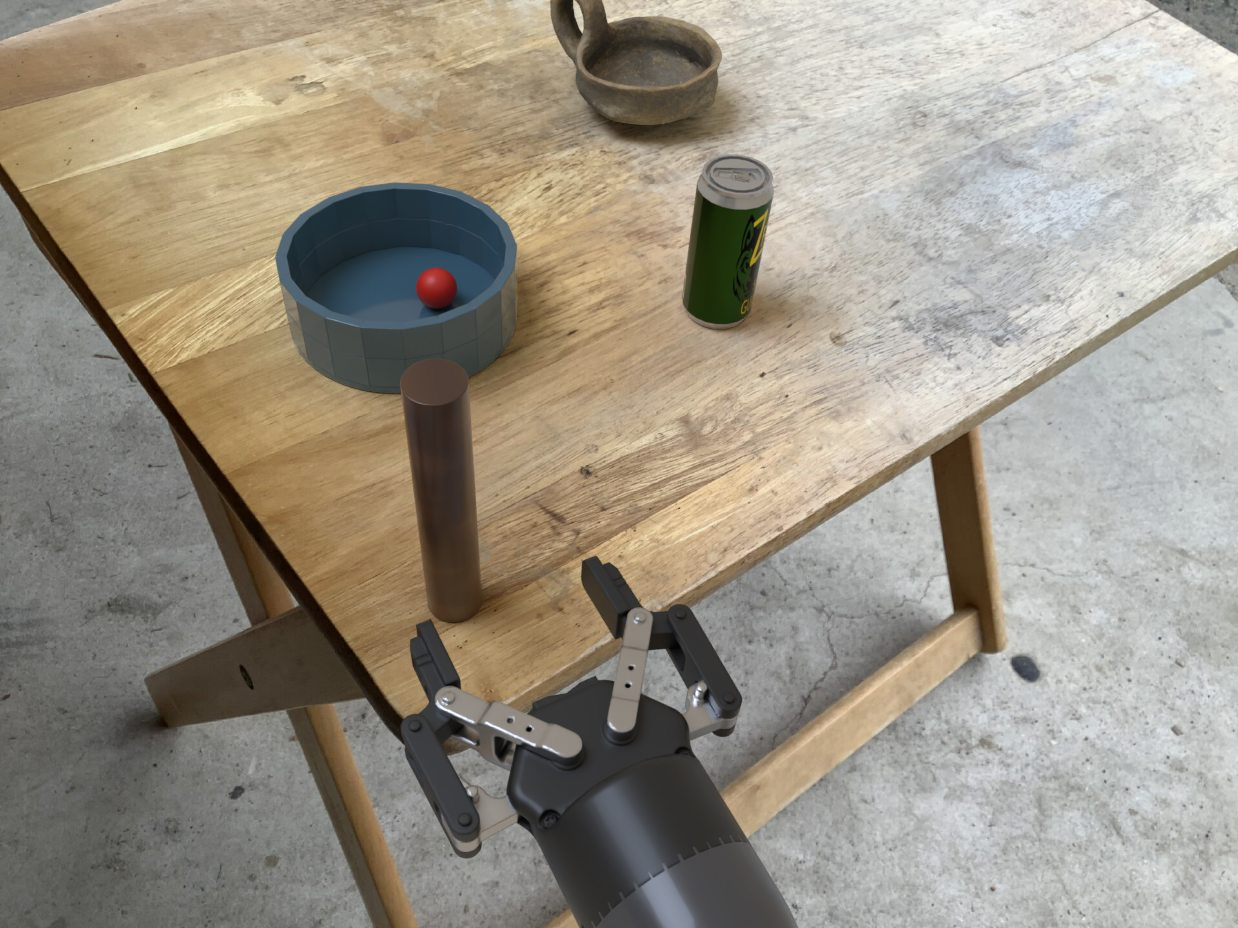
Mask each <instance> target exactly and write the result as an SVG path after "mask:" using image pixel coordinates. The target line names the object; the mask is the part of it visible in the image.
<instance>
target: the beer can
mask: <svg viewBox="0 0 1238 928" xmlns="http://www.w3.org/2000/svg"><path fill="white" fill-rule="evenodd" d="M773 182H774V176H773V171H772V170H771V169H770V168H769V167H768V165H766V164H765V163H763V162H762V161H761V160H759V159H756V158H754V157H751V156H748V155H743V154H734V153H733V154H731V153H730V154H729V153H727V154H721V155H716V156H715V157H712V158H710V159H708V160H707V162H705V163H704V164H703V167H702V169H701V173H700V175H699V176H698V179H697V182H696V188H695V195H694V203H693V210H692V211H693V212H692V217H691V226H690V234H689V240H688V250H687V256H686V263H685V271H684V279H683V286H682V287H683V288H682V294H681V300H682V301H681V302H682V306H683V308H684V310H685V313H686V314H687V316H688V317H689V319H690V320H692V321H693V322H694V323H695V324H697V325H699V326H702V327H704V328H709V329H712V330H726V329H731V328H735V327H737V326H738V325H740V324H741V323H742V322H743V321H744V320H745V319H746V318H747V316H749V314H750V313H751V310H752V306H753V303H754V298H755V293H756V287H757V283H758V277H759V272H760V266H761V262H762V256H763V252H764V246H765V241H766V237H767V236H766V235H767V230H768V227H769V226H768V224H769V220H770V216H771V215H770V214H771V209H772V205H773V199H774V196H775V195H774V194H775V188H774V185H773Z"/></svg>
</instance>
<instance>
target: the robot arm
mask: <svg viewBox="0 0 1238 928" xmlns="http://www.w3.org/2000/svg"><path fill="white" fill-rule="evenodd" d="M580 581H581V584H582V587H583V589H584V591H585V592H586V594H587V596H588V597H589V599H590V601H591V603H592V604H593V606H594V608H595V610H596V611H597V612H598V614H599V616H600V617H601V619H602V621H603V622H604V624H605V625H606V627H607V629H608V630H609V632H610V634H611V635H612V637H613V639H614V640H615V641H616V640H619V639H621V640H622V642H621V646H620V649H619V650H620V651H619V656H618V661H617V666H616V671H615V676H614V680H611V679H598V677H597V675H594V676H592V677H589V678H587V679H585V680H582V681H580V682H578V683H577V684H576V685H575V686H573V687H572V688H571V689H570V690H568V691H567V692H563V693H557V694H552V695H548V696H545V697H542V698H540V699H538V700H536V701H534V702H532V703H531V705H532V706H531V708H530V710H528V712H527V713H526V712H524V711H521V710H519V709H517V708H515V707H513V706H511V705H508V704H507V703H504V702H502V701H500V700H491V701H489V700H488V701H487V700H484V699H482V698H481V697H478V696H477V695H474V694H472V693H470V692H467V691H465V690H464V689H462V682H461V677H460V675H459V672H458V671H457V668H456V667H455V665H454V663H453V661H452V659H451V657H450V655H449V652H448V650H447V649H446V646H445V644H444V643H443V640H442V638H441V636H440V634H439V632H438V631H437V629H436V627H435V626H436V625H434V622H433V620H432V619H431V618H429V619H427V620H424V621H422V622H419V623H416V624H415V630H416V636H415V637H413V638H410V639H409V652H410V660H411V665H412V666H411V667H412V668H413V670H414V672H415V674H416V676H417V679H418V682H419V683H420V686H421V687H422V690H423V691H424V694H425V696H426V699H427V701H428V703H427V705H426V706H425V707H424V708H423V709H422V710H421V711H419V712H418V713H411V714H409V715H407V716H406V717H404V718H403V720H402V721H401V723H400V734H401V737H402V740H403V743H404V754H405V759H406V761H407V763H408V765H409V767H410V769H411V771H412V773H413V775H414V776H415V778H416V780H417V782H418V784H419V786H420V788H421V790H422V792H423V794H424V796H425V798H426V799H427V801H428V803H429V805H430V807H431V809H432V811H433V813H434V815H435V817H436V820H437V821H438V823H439V824H440V826H441V829H442V830H443V832H444V835H445V836H446V838H447V840H448V842H449V845H450V846H451V848H452V850H453V852H454V853H455V855H456V856H458V857H459V858H461V859H468V860H469V859H473V858H474V857H476V856H478V854H479V853H480V852H481V850H482V847H483V842H484V841H486V840H487V839H489V838H491V837H493V836H495V835H497V834H498V833H500V832H502V831H504V830H506V829H508V828H509V827H512V826H513V825H515V824H517V825H518V826H521V828H524V829H525V830H526V831H528V832H529V833H530V835H531V836H533V838H534V840H535V841H536V842H537V845H538V846H539V849H540V850H541V852H542V854H543V857H544V859H545V861H546V863H547V864H548V867H549V869H550V871H551V873H552V875H553V877H554V879H555V882H556V883H557V885H558V887H559V890H560V891H561V893H562V895H563V897H564V900H565V901H566V903H567V905H568V907H569V909H570V911H571V914H572V916H573V918H574V920H575V922H576V924H577V927H578V928H799V926H798V923H797V921H796V918H795V917H794V914H793V913H792V910H791V909H790V907H789V904H788V902H787V901H786V899H785V897H784V895H783V894H782V893H781V890H780V889H779V888H778V886H777V884H776V883H775V881H774V880H773V878H772V876H771V875H770V873H769V872H768V870H767V868H766V867H765V864H764V863H763V861H762V860H761V858H760V857H759V855H758V853H757V852H756V850H755V848H754V847H753V845H752V844H751V842H750V840H749V839H748V837H747V836H746V834H745V832H744V831H743V829H742V827H741V826H740V824H739V823H738V821H737V819H736V818H735V816H734V814H733V812H732V810H731V809H730V808H729V806H728V805H727V803H726V801H725V799H724V798H723V796H722V794H720V792H719V790H718V788H717V787H716V785H715V783H714V782H713V780H712V779H711V776H710V775H709V773H708V772H707V771H706V769H705V767H704V765H703V764H702V762H701V761H700V760H699V758H698V757H697V756H696V754H695V753H694V750H693V748H692V745H691V741H693V740H696V739H698V738H700V737H703V736H706V735H709V734H710V733H712V734H713V735H714V736H716V737H719V738H727V737H729V736H731V735H732V734H733V733H734V731H735V728H736V725H737V722H738V718H739V714H740V711H741V707H742V704H743V695H742V694H741V692H740V691H739V689H738V687H737V685H736V683H735V682H734V680H733V678H732V677H731V675H730V673H729V671H728V670H727V668H726V667H725V665H724V663H723V661H722V660H721V658H720V656H719V654H718V653H717V651H716V649H715V648H714V646H713V644H712V642H711V641H710V640H709V637H708V636H707V634H706V632H705V630H704V628H703V627H702V625H701V624H700V622H699V620H698V619H697V617H696V614H694V612H693V610H692V609H691V608H690V606H688V605H686V604H684V603H683V604H682V603H675V604H673V605H672V606H670V607H669V609H668V610H662V611H654V610H653V611H652V610H649V609H647V608H645V607H644V606H643V605H642V604H641V603H640V600H639V599H638V598H637V596H636V594H635V593H634V591H633V590H632V588H631V587H630V585H629V584H628V583H627V581H626V579H625V577H624V576H623V575H622V573H621V571H620V570H619V568H618V567H617V566H615V565H614V564H613V563H611V562H610V561H607V562H605V563H603V562H602V560H601V559H600V557H599V556H597V555H593V556H591V557H588V558H586V559H583V560H582V561H581V569H580ZM659 650H665V651H666V653H667V655H668V657H669V658H670V661H671V662H672V664H673V665H674V667H675V669H676V671H677V673H678V675H679V676H680V678H681V680H682V682H683V683H684V685H685V687H686V689H687V690H686V695H685V701H684V707H685V712H683V713H681V712H680V711H679V710H678V709H676V708H674V707H672V706H670V705H668V704H665V703H664V702H661V701H659V700H657V699H655V698H653V697H650V696H649V695H646V694H644V693H642V691H643V685H644V679H645V674H646V673H645V672H646V667H647V661H648V654H649V651H659ZM448 739H450V740H452V741H454V742H457V743H458V744H461V745H463V746H465V747H468V748H470V749H472V750H473V751H476V752H477V753H478V754H479V755H480V757H481V758H482V759H484V760H485V761H487V762H489V763H490V764H493V765H495V766H497V767H499V768H500V769H501V768H502V769H503V770H505V771H508V772H509V774H508V779H507V784H506V789H505V794H506V795H504V796H501V797H500V796H499V797H495V796H492V795H490V794H489V793H487V791H486V790H485V789H484V787H482V786H480V785H478V784H477V785H476V784H471V785H468V786H464V784H463V782H462V780H461V778H460V777H459V774H458V772H457V771H456V769H455V767H454V765H453V764H452V762H451V759H450V757H449V755H448V754H447V753H446V750H445V749H444V747H443V744H444V743H445V742H446V741H447V740H448Z"/></svg>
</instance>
